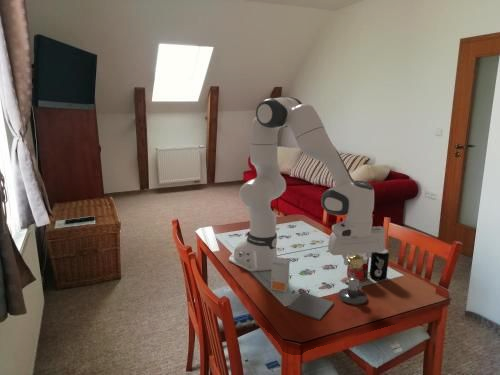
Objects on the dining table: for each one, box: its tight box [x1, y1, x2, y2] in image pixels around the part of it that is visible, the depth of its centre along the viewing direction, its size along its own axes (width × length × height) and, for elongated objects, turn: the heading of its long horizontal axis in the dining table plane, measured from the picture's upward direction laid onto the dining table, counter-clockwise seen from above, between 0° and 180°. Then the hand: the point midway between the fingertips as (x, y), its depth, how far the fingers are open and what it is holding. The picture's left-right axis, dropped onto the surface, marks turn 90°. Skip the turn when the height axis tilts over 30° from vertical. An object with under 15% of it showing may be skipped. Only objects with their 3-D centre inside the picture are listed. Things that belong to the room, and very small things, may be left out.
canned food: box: [346, 253, 370, 282], centre depth 149 cm, size 8×8×11 cm
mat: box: [287, 291, 335, 321], centre depth 130 cm, size 12×12×1 cm
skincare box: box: [270, 256, 291, 293], centre depth 140 cm, size 6×4×12 cm
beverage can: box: [369, 248, 390, 281], centre depth 149 cm, size 7×7×12 cm
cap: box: [347, 254, 364, 271], centre depth 132 cm, size 5×5×4 cm
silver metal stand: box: [338, 277, 368, 306], centre depth 135 cm, size 10×10×8 cm
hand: (355, 263), depth 132 cm, fingers closed on cap, 5 cm apart
